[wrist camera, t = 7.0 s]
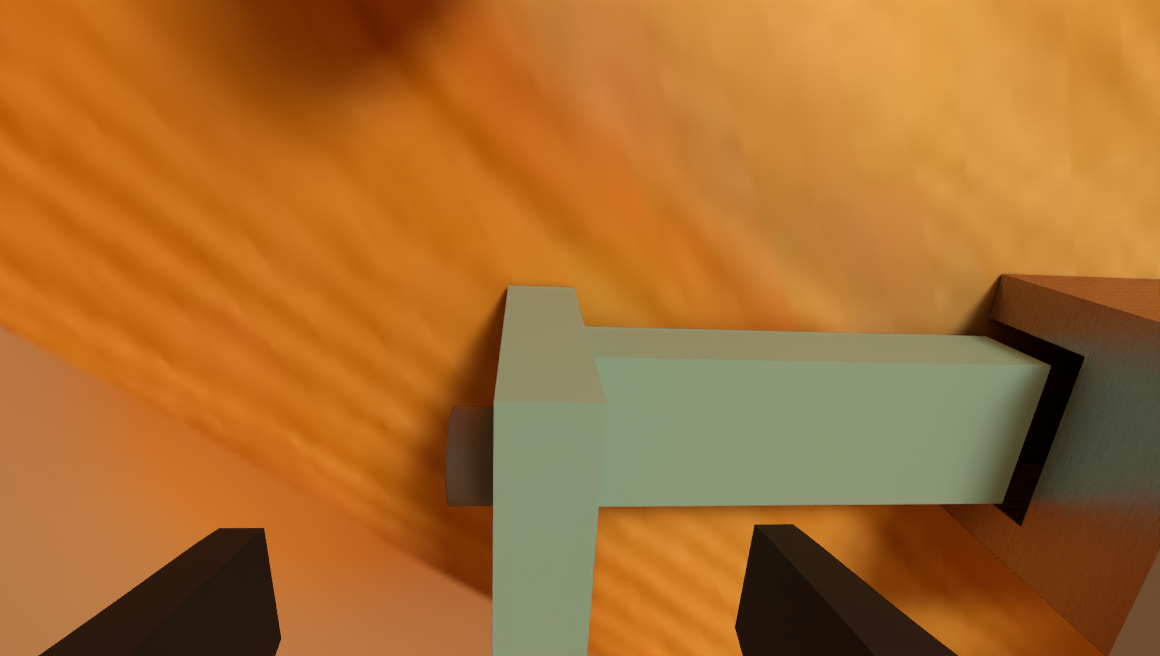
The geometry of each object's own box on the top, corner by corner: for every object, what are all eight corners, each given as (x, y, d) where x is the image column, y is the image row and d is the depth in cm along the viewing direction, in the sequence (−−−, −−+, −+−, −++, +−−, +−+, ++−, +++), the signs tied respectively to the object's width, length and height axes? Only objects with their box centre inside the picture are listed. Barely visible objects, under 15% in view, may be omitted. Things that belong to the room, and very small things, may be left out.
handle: (987, 300, 15) (1279, 409, 9) (932, 480, 17) (1145, 667, 11) (466, 284, 14) (420, 400, 8) (468, 482, 15) (432, 696, 10)
